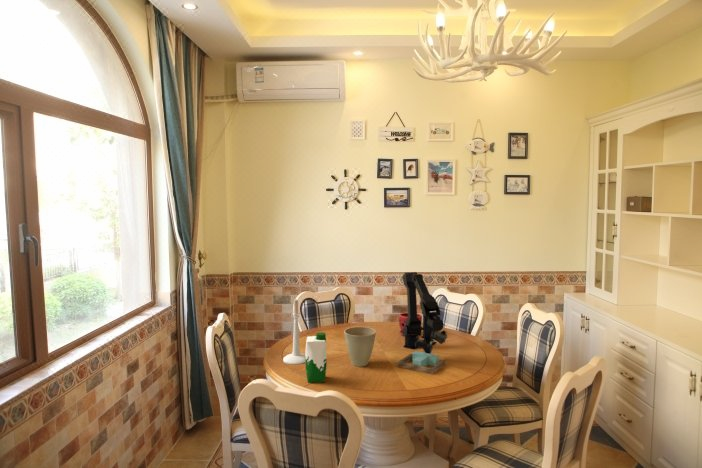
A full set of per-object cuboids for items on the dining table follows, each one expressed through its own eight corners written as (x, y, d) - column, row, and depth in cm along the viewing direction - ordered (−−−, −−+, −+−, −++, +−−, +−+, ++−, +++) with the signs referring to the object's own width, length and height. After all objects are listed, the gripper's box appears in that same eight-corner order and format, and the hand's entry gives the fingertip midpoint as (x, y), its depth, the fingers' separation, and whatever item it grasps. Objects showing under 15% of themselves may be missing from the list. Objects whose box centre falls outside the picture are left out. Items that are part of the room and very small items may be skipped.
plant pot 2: (423, 338, 253) (423, 317, 252) (399, 338, 253) (400, 317, 252) (419, 331, 266) (420, 311, 265) (397, 331, 266) (397, 311, 265)
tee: (404, 366, 209) (405, 358, 209) (415, 358, 220) (415, 350, 219) (428, 371, 203) (429, 363, 203) (439, 363, 213) (439, 355, 213)
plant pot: (339, 361, 216) (339, 328, 215) (367, 357, 222) (367, 325, 221) (351, 371, 203) (351, 337, 202) (381, 367, 208) (381, 333, 207)
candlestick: (298, 353, 227) (298, 295, 225) (314, 359, 218) (314, 298, 216) (277, 359, 218) (277, 298, 216) (293, 366, 209) (293, 303, 207)
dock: (396, 366, 209) (397, 362, 209) (410, 357, 221) (410, 353, 221) (433, 374, 200) (433, 370, 199) (445, 364, 212) (445, 360, 211)
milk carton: (326, 383, 190) (326, 336, 189) (305, 383, 189) (305, 337, 188) (326, 375, 199) (326, 330, 197) (305, 375, 198) (305, 331, 197)
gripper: (437, 332, 204) (436, 366, 205) (451, 323, 220) (451, 354, 221) (414, 329, 210) (414, 361, 211) (430, 320, 226) (430, 350, 227)
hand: (428, 357), depth 217 cm, fingers closed
